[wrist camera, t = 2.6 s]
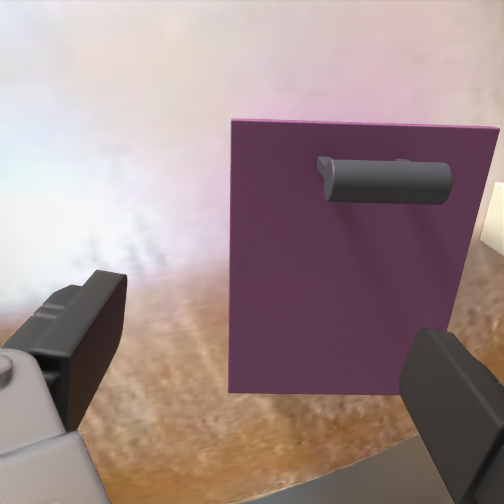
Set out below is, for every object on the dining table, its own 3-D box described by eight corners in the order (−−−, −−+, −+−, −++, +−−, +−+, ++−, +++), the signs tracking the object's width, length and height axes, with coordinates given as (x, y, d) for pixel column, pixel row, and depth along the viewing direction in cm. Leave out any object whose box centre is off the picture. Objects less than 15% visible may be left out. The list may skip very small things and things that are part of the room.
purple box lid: (231, 118, 21) (227, 132, 16) (491, 126, 21) (570, 142, 16) (228, 385, 28) (224, 455, 23) (425, 387, 28) (465, 457, 23)
